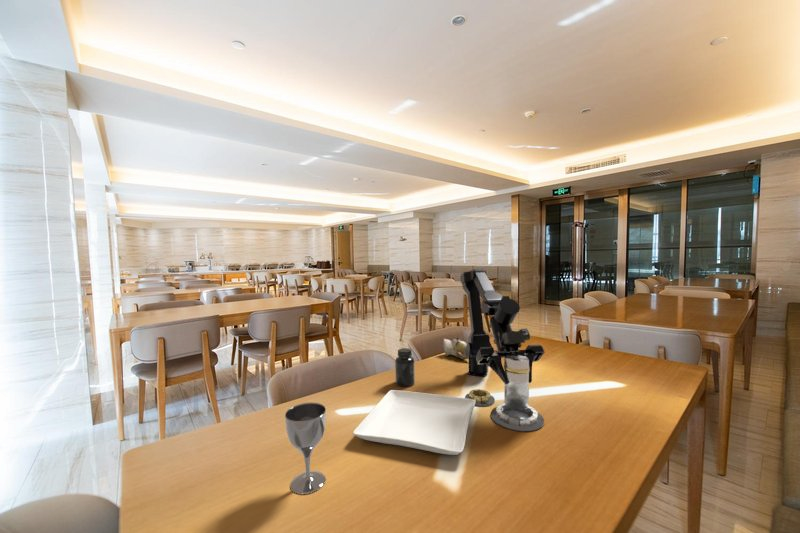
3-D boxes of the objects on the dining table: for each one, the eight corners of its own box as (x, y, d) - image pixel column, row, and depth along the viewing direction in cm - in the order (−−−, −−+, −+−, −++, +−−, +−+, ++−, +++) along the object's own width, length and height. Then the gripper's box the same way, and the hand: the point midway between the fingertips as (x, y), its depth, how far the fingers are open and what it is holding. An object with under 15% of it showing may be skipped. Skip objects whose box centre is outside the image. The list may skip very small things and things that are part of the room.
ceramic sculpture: (448, 332, 155) (479, 338, 147) (448, 350, 156) (478, 357, 147) (438, 337, 146) (470, 344, 138) (437, 357, 147) (469, 365, 139)
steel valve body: (499, 403, 94) (499, 358, 93) (512, 396, 98) (512, 352, 97) (520, 412, 89) (520, 364, 88) (534, 404, 93) (534, 358, 92)
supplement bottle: (410, 378, 123) (410, 346, 123) (417, 385, 117) (417, 351, 116) (393, 381, 121) (392, 348, 120) (399, 388, 115) (398, 354, 114)
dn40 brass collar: (461, 402, 103) (461, 396, 103) (469, 391, 111) (469, 385, 111) (491, 408, 99) (491, 402, 99) (497, 396, 107) (497, 390, 107)
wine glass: (292, 470, 73) (290, 403, 72) (330, 468, 73) (328, 401, 72) (283, 498, 65) (280, 422, 64) (325, 494, 65) (322, 419, 65)
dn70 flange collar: (485, 424, 90) (485, 417, 90) (496, 402, 103) (495, 396, 103) (542, 436, 84) (542, 428, 84) (545, 412, 96) (545, 405, 96)
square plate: (476, 410, 99) (476, 397, 99) (462, 468, 73) (462, 451, 73) (390, 398, 108) (390, 387, 107) (351, 446, 82) (350, 431, 82)
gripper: (478, 319, 95) (493, 372, 85) (541, 317, 97) (563, 368, 86) (470, 339, 103) (482, 389, 93) (528, 336, 105) (546, 385, 95)
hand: (518, 383), depth 91 cm, fingers closed on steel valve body, 6 cm apart
